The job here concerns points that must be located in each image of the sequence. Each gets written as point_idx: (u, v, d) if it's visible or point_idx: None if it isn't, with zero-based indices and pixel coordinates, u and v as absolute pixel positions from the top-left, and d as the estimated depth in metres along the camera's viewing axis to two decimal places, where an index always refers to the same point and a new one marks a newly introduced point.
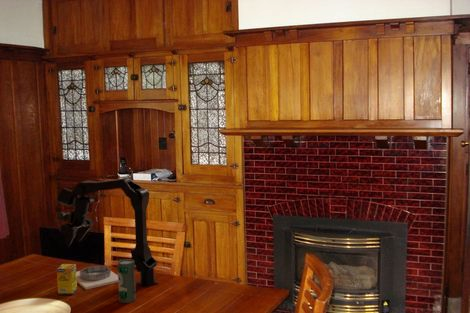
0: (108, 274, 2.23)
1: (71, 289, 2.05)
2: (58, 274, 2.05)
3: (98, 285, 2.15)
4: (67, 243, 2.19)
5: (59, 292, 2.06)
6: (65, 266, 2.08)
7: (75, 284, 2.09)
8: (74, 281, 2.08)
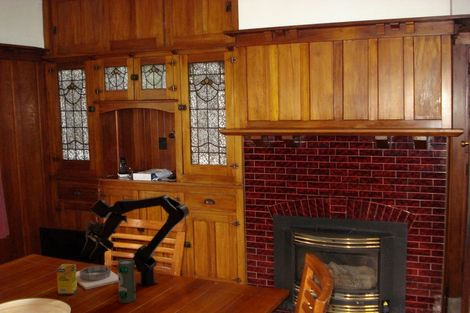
0: (108, 274, 2.23)
1: (71, 289, 2.05)
2: (58, 274, 2.05)
3: (98, 285, 2.15)
4: (92, 255, 2.08)
5: (59, 292, 2.06)
6: (65, 266, 2.08)
7: (75, 284, 2.09)
8: (74, 281, 2.08)
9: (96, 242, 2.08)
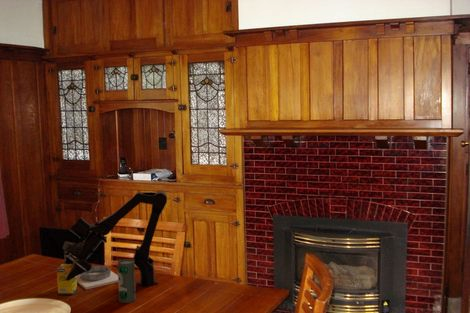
0: (108, 274, 2.23)
1: (71, 289, 2.05)
2: (58, 274, 2.05)
3: (98, 285, 2.15)
4: (69, 277, 2.04)
5: (59, 292, 2.06)
6: (65, 265, 2.08)
7: (75, 284, 2.09)
8: (74, 281, 2.08)
9: (73, 263, 2.04)
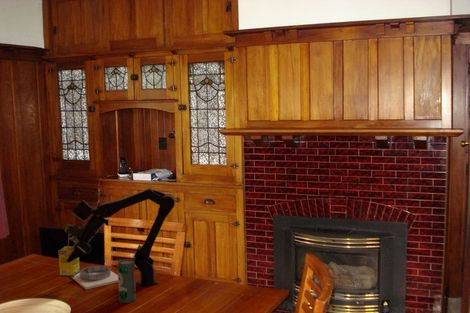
0: (108, 274, 2.23)
1: (72, 271, 2.07)
2: (60, 256, 2.07)
3: (98, 285, 2.15)
4: (69, 258, 2.05)
5: (61, 274, 2.07)
6: (67, 248, 2.09)
7: (77, 266, 2.10)
8: (76, 263, 2.10)
9: (73, 245, 2.05)
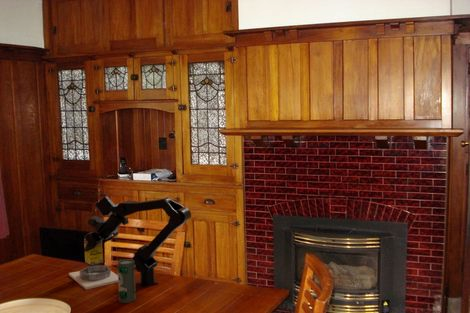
0: (108, 274, 2.23)
1: (89, 261, 2.20)
2: (84, 244, 2.23)
3: (98, 285, 2.15)
4: (86, 248, 2.19)
5: (85, 261, 2.24)
6: None
7: (98, 257, 2.22)
8: (96, 254, 2.22)
9: None
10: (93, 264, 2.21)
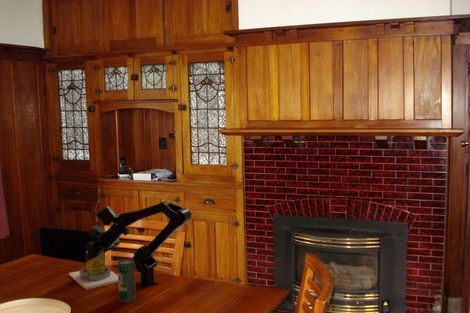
0: (108, 274, 2.23)
1: (91, 273, 2.21)
2: None
3: (98, 285, 2.15)
4: (86, 258, 2.19)
5: (87, 273, 2.25)
6: None
7: (100, 270, 2.23)
8: (98, 267, 2.23)
9: None
10: None
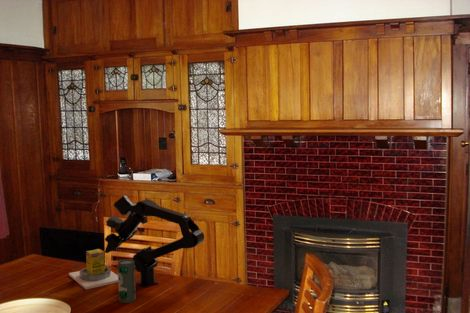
0: (108, 274, 2.23)
1: (91, 273, 2.21)
2: (86, 256, 2.24)
3: (98, 285, 2.15)
4: (106, 250, 2.17)
5: (87, 273, 2.25)
6: (94, 250, 2.25)
7: (100, 270, 2.23)
8: (98, 267, 2.23)
9: None
10: None
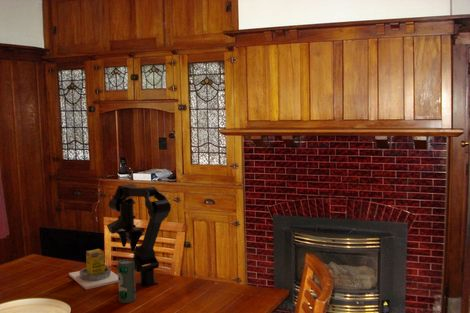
0: (108, 274, 2.23)
1: (91, 273, 2.21)
2: (86, 256, 2.24)
3: (98, 285, 2.15)
4: (132, 248, 2.22)
5: (87, 273, 2.25)
6: (94, 250, 2.25)
7: (100, 270, 2.23)
8: (98, 267, 2.23)
9: None
10: None
